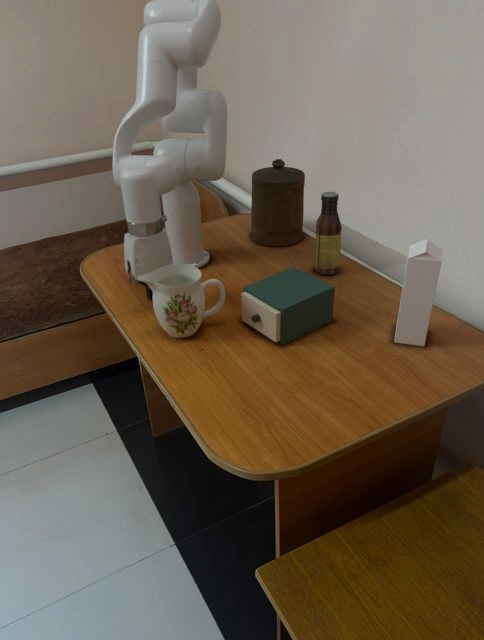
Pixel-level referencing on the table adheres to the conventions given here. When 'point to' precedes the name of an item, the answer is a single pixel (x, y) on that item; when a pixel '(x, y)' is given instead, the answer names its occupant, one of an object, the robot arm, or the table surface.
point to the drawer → (261, 316)
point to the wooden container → (277, 205)
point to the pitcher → (180, 298)
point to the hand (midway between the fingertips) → (154, 300)
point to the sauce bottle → (328, 236)
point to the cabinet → (296, 301)
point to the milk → (418, 292)
